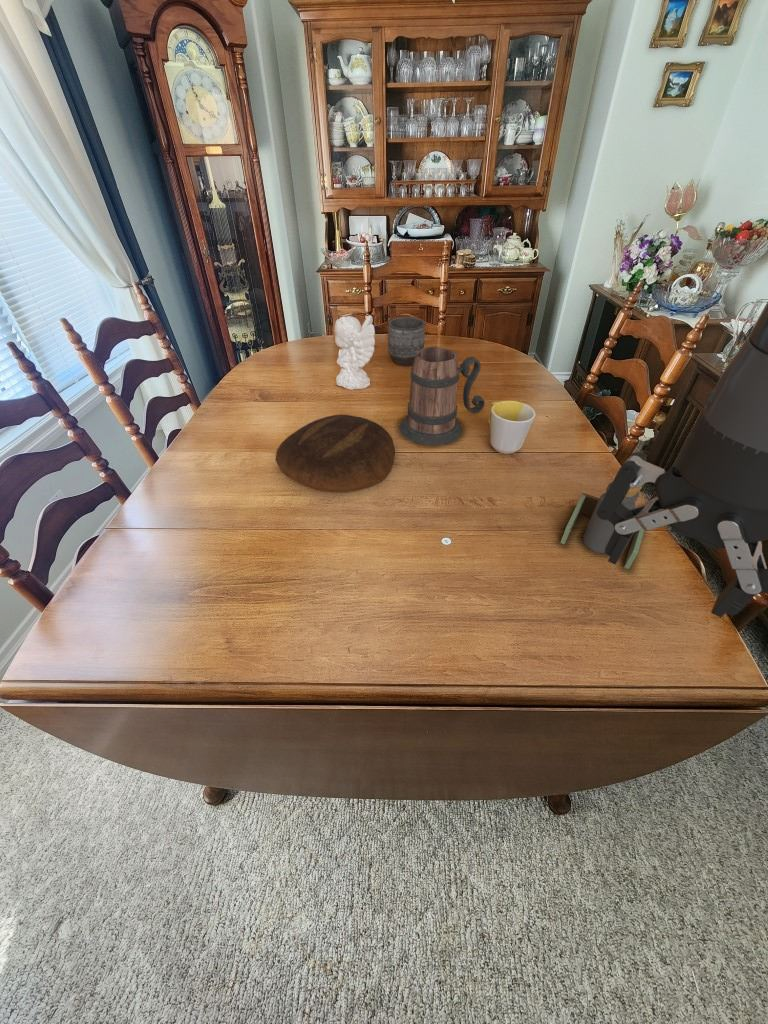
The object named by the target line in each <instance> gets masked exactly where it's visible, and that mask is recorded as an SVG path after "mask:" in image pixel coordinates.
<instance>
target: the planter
mask: <svg viewBox="0 0 768 1024" xmlns="http://www.w3.org/2000/svg"><path fill="white" fill-rule="evenodd" d="M425 335H426V321H425V320H423V319H422V318H419V317H414V316H398V317H395V318H392V319H390V320H388V322H387V351H388V355H389V356H390V358H391V360H392V362H393V363H394V364H396V365H398V366H401V367H409V366H411V367H412V366H413V363H414V358H415V354H416V353H417V352H418V351H419V350H420V349H422V348H425V337H426V336H425Z"/></svg>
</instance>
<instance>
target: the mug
mask: <svg viewBox="0 0 768 1024" xmlns="http://www.w3.org/2000/svg"><path fill="white" fill-rule="evenodd" d="M535 418H536V410H535V409H534V408H533V407H532V406H530V405H529V404H527V403H524V402H521V401H516V400H502V401H493V402H491V403H490V406H489V410H488V417H487V422H488V426H489V427H490V439H489V440H490V445H491V446H492V448H493V449H494V450H495V451H496V452H498V453H500V454H502V455H503V454H504V455H511V454H514V453H516V452H518V451H519V450H520V449H522V447H523V445H524V443H525V441H526V438H527V436H528V434H529V432H530V429H531V427H532V425H533V423H534V420H535Z"/></svg>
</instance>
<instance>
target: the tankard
mask: <svg viewBox="0 0 768 1024" xmlns="http://www.w3.org/2000/svg"><path fill="white" fill-rule="evenodd" d="M472 364H473V367H472V369H471V368H470V366H471V365H472ZM481 366H482V365H481V362H480V360H479V359H477V358H476V357H475V356H468V357H466V358H465V359H464V360H462V362H461V363H460V364H459V355H458V353H457V352H455V351H454V350H452V349H448V348H443V347H439V346H426V347H425V346H424V348H422V349H420V350H419V351H418V352H417V353H416V354H415V358H414V363H413V365H412V366H411V368H410V387H409V399H408V400H409V401H408V403H407V411H406V412H407V415H405V418H404V419H403V420H401V422H400V424H399V431H400V434H401V435H402V436H403V437H404V438H405V439H407V440H408V441H410V442H412V443H416V444H419V445H424V446H443V445H447V444H451V443H452V442H455V441H457V440H458V439H459V438H460V437H461V436H462V434H463V426H462V424H461V423H460V421H459V420H458V418H457V415H458V404H457V403H458V388H459V380H460V376H461V375H462V376H463V377H464V378H466V380H465V383H464V386H463V391H462V402H463V405H464V407H465V409H466V410H467V411H468V412H470V413H471V414H473V415H474V414H475V415H476V414H479V413H480V412H481V411H482V410H483V409H484V407H485V405H486V400H485V399H484V398H483V397H482V396H481V395H475V396H473V397H472V399H471V402H472V403H471V404H472V405H473V406H472V407H471V405H470V394H471V390H472V387H473V384H474V383H475V382H476V379H477V378H478V376H479V374H480V371H481V368H482V367H481ZM470 369H471V371H470ZM460 374H461V375H460Z"/></svg>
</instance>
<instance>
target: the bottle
mask: <svg viewBox="0 0 768 1024" xmlns="http://www.w3.org/2000/svg"><path fill="white" fill-rule="evenodd" d="M616 475H617V474H615V475H614V476H612V478H611V482H610V483H608V484H607V486H606V489H605V492H604V493H602V494H601V495H600V497H599V498H600V499H599V501H598V503H597V506H596V508H595V510H594V512H593V515H592V517H591V516H590V519H589V522H588V524H587V526H586V529H585V531H584V533H583V536H582V542H583V544H584V545H585V546H586V548H588V549H589V550H591V551H592V552H595V553H597V554H605V548H606V546H607V544H608V542H609V540H610V538H611V536H612V534H613V532H614V526H613V524H612V523H611V522H610V521H608V520H602V519H600V518H599V517H598V516H597V510H598V508H599V506H600V504H601V503H602V501H603V499H604V497H605V495H606V493H607V492H608V490H609V488H610V486H611V484H612V482H613V480H614V479H615V477H616ZM642 488H643V485H642V486H641V487H639V488H631V487H630V489H629V491H628V493H627V494H626V496H625V498H624V499H623V501H622V503H621V504H623V505H624V506H625V507H626V508H628V509H631V508H633V507H636V502H637V500H638V499H639V497H640V491H641V490H642Z"/></svg>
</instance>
